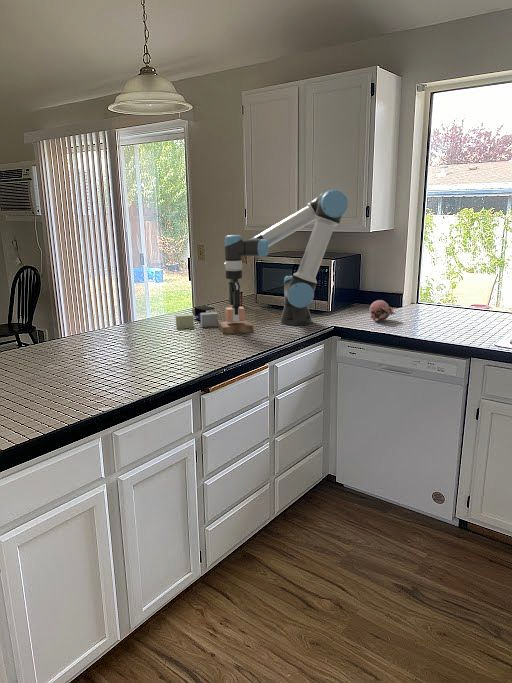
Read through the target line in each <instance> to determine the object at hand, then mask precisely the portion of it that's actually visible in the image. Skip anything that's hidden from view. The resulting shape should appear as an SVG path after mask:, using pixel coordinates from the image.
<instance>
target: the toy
mask: <svg viewBox="0 0 512 683" xmlns="http://www.w3.org/2000/svg"><path fill="white" fill-rule="evenodd" d="M368 310H369V314H370V316H369V317H370V318H371V319H372V320H373V321H374V322H375V323H377V322H376V320H378V321H380V322H381V321H384V320H385V321H386V320H387V319H388V318H389V316H390V315H391V316H393V315H396V313H395V312H394V311H395V310H394V309H393V308H392V307H391V306H390V305H389V303H387V302H386V301H384V300H383V299H377V300H375V301H373V302H372V303H371V304H370V306H369V309H368Z"/></svg>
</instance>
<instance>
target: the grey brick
mask: <svg viewBox="0 0 512 683" xmlns="http://www.w3.org/2000/svg"><path fill="white" fill-rule="evenodd" d="M207 312H208V311H207ZM207 312H206V313H200V319H199V320H200V326H201V327H202V328H206V327H218V322H219V313H218V312H216V311H212V312H208V313H207Z"/></svg>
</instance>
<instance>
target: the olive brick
mask: <svg viewBox="0 0 512 683" xmlns="http://www.w3.org/2000/svg"><path fill="white" fill-rule="evenodd" d="M174 315H175V327H176V329H179V330H180V329H192V328H194V327H195V324H194V323H195V322H194V315H193V313H180V314H174Z"/></svg>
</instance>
